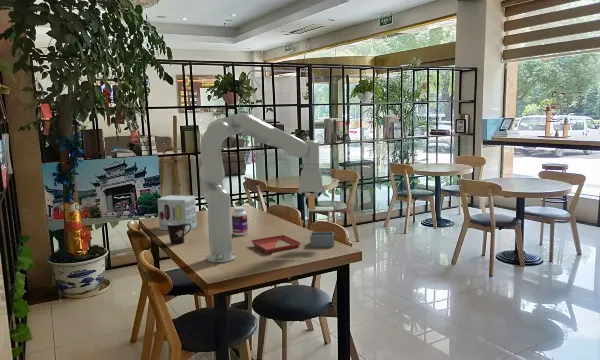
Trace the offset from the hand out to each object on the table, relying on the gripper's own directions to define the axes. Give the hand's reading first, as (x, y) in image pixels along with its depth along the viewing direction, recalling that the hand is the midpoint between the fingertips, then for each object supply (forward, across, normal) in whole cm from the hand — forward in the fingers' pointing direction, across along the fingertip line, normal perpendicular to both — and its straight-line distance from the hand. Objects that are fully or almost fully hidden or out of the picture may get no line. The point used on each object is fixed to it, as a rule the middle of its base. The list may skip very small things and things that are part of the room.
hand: (311, 205), depth 210 cm
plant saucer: (+20, -17, -1) cm, 27 cm away
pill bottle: (+20, -39, +25) cm, 51 cm away
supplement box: (+20, -78, +41) cm, 91 cm away
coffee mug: (+20, -67, +10) cm, 70 cm away
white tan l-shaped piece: (+2, +4, 0) cm, 5 cm away
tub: (+19, +5, 0) cm, 20 cm away
